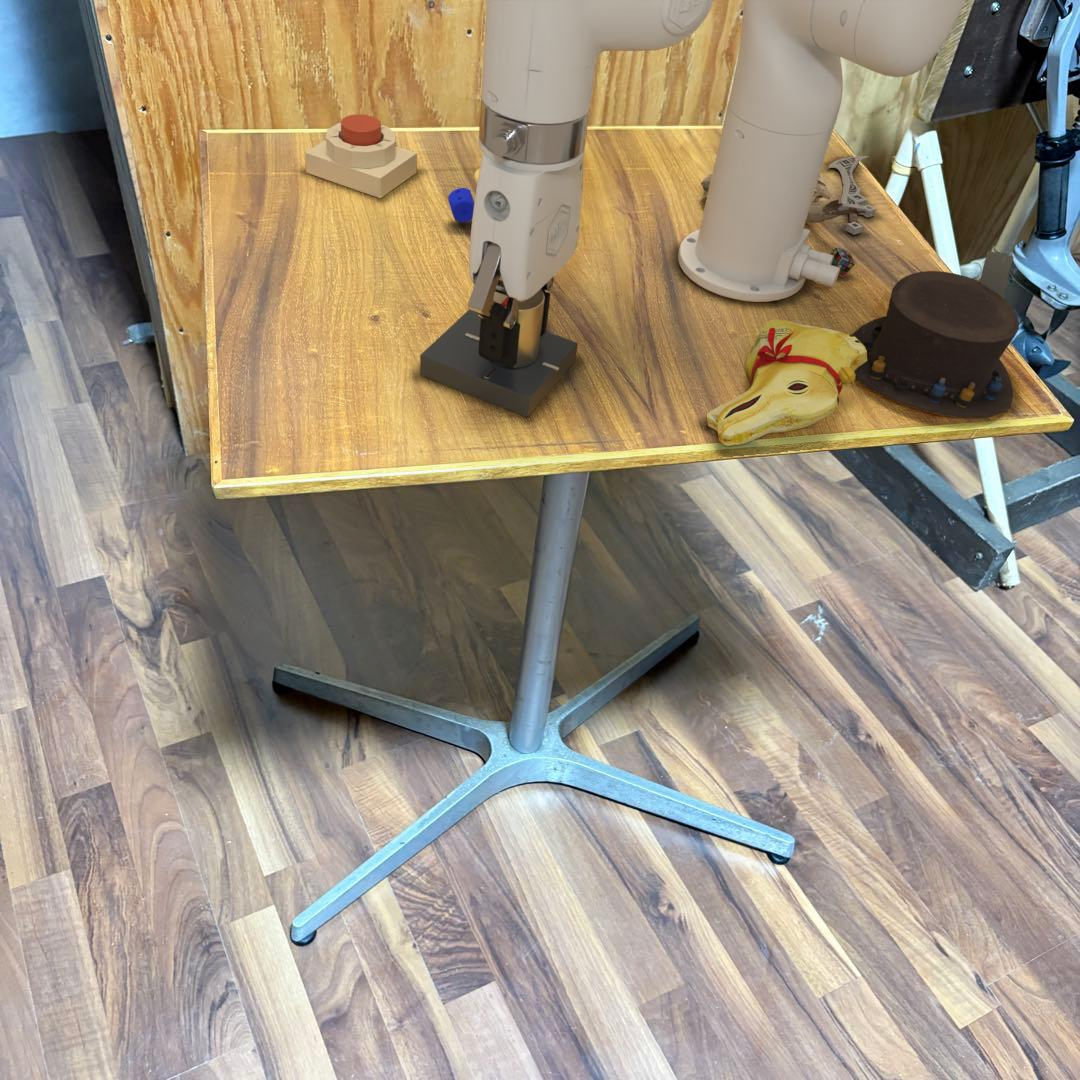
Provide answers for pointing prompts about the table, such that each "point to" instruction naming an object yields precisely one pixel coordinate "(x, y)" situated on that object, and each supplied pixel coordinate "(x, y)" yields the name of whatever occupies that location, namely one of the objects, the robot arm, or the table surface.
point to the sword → (852, 193)
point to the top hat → (944, 343)
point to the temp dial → (527, 326)
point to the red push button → (360, 130)
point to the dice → (462, 203)
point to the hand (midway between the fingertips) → (512, 343)
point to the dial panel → (495, 367)
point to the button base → (362, 162)
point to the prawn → (826, 213)
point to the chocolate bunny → (789, 381)
